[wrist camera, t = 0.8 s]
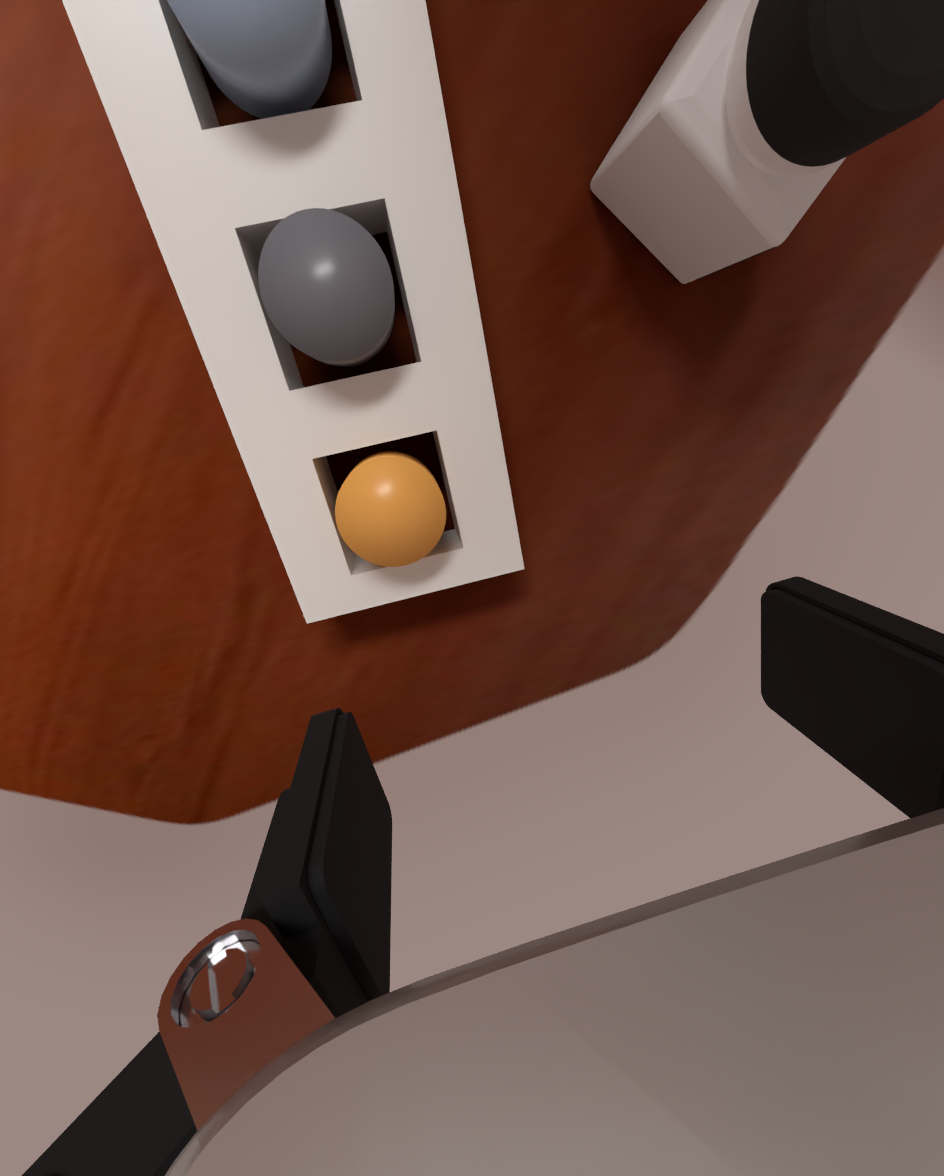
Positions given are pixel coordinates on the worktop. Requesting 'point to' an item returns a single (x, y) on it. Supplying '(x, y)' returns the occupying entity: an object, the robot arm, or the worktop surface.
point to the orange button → (390, 509)
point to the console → (233, 301)
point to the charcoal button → (327, 287)
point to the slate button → (262, 50)
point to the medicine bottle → (764, 120)
